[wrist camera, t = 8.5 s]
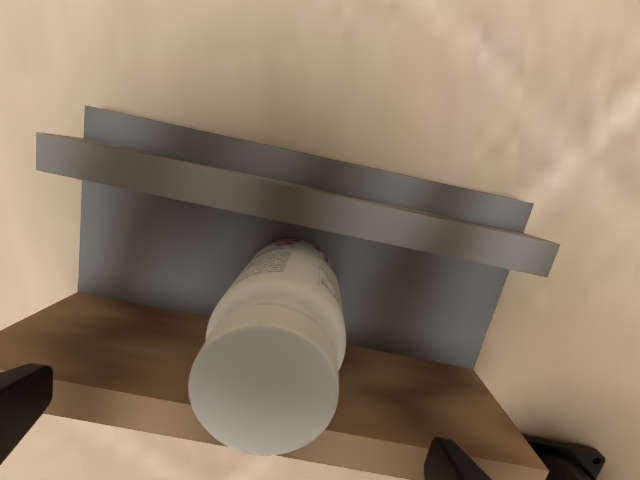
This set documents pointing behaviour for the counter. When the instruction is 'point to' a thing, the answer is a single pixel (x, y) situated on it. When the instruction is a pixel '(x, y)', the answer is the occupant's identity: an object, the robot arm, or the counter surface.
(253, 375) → the pill bottle
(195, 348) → the cleat board
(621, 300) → the counter surface
